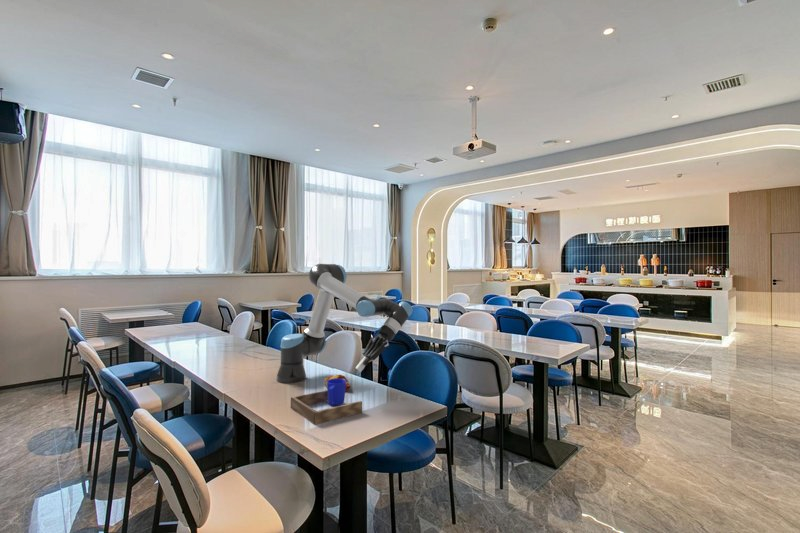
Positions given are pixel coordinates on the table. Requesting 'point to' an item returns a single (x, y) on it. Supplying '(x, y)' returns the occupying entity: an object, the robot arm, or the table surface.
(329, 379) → the croissant
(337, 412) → the box
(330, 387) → the mug
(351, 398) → the table surface
